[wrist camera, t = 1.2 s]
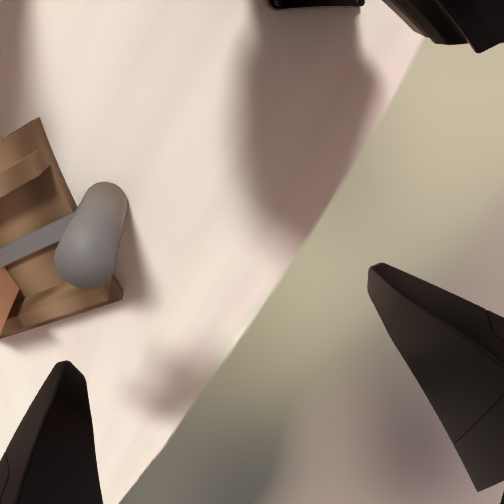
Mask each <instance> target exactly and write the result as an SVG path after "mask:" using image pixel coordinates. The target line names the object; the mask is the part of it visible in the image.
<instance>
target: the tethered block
mask: <svg viewBox="0 0 504 504" xmlns="http://www.w3.org/2000/svg"><path fill="white" fill-rule="evenodd" d="M127 207H128V202H127V198H126V195H125V193H124V192H123V190H122V189H121V188H120V187H118V186H117V185H115V184H113V183H109V182H100V183H97V184H95V185H93V186H91V187H90V188H89V189H88V190H87V192H86V193H85V195H84V197H83V199H82V200H81V202H80V204H79V206H78V208H77V209H76V211H75V212H74V213H72V214H70V215H68V216H65V217H63V218H61V219H59V220H57V221H54V222H52V223H50V224H48V225H46V226H44V227H42V228H40V229H37V230H35V231H33V232H31V233H29V234H27V235H25V236H23V237H21V238H19V239H17V240H15V241H13V242H12V243H10V244H8V245H6V246H4V247H2V248H0V334H1V332H2V329H3V327H4V324H5V321H6V319H7V317H8V314H9V312H10V309H11V307H12V305H13V302H14V300H15V298H16V296H17V293H18V291H19V289H20V288H19V287H18V286H17V284H16V283H15V281H14V280H13V278H12V277H11V275H10V274H9V273H8V271H7V270H6V268H5V266H6V265H8V264H10V263H12V262H14V261H16V260H18V259H20V258H22V257H25V256H27V255H29V254H31V253H33V252H35V251H38V250H40V249H42V248H44V247H46V246H49V245H51V244H53V243H55V242H58V241H60V242H59V244H58V246H57V248H56V251H55V255H54V261H55V266H56V268H57V271H58V272H59V274H60V275H61V277H62V278H63V279H64V280H65V281H67V282H68V283H69V284H71V285H73V286H75V287H78V288H82V289H96V288H99V287H101V286H103V285H105V284H106V283H107V282H108V281H109V280H110V279H111V277H112V275H113V273H114V268H115V263H116V258H117V253H118V248H119V243H120V238H121V234H122V229H123V225H124V220H125V216H126V212H127Z"/></svg>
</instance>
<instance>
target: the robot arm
mask: <svg viewBox="0 0 504 504" xmlns="http://www.w3.org/2000/svg"><path fill="white" fill-rule="evenodd" d="M278 1H280V6H277V5H275V3H274V0H267V2H268V5H269V7H270V8H271V9H273V10H287V9H299V8H316V7H360V6H363V5H364V3H365V0H358V3H357V2H356V1H355V0H278ZM382 1H383V2H384V3H385V4H387V5H388V6H389V7H390V8H391V9H392V10H393V11H394V12H395V13H396V14H397V15H398V16H399V17H400V18H401V19H402V20H403V21H404V22H405V23H406V24H407V25H408V26H409V27H410V28H411V29H412V30H413V31H415V32H417V33H419V34H421V35H423V36H425V37H429V38H430V39H431V40H432V41H433V42H434V43H435V44H445V45H456V44H467V43H469V44H470V45H471V47H472V48H473V49H474V51H475V52H476V53H481V52H483V51H485V50H487V49H489V48H491V47H493V46H495V45H497V44H499V43H503V42H504V0H382ZM367 288H368V293H369V296H370V298H371V300H372V302H373V304H374V306H375V308H376V310H377V312H378V314H379V316H380V317H381V320H382V322H383V323H384V325H385V328H386V329H387V332H388V334H389V335H390V337H391V339H392V341H393V342H394V344H395V346H396V347H397V349H398V350H399V352H400V353H401V355H402V357H403V358H404V360H405V361H406V363H407V365H408V366H409V368H410V369H411V371H412V373H413V374H414V376H415V378H416V379H417V381H418V383H419V384H420V386H421V388H422V390H423V391H424V393H425V395H426V396H427V398H428V400H429V401H430V403H431V405H432V407H433V408H434V410H435V412H436V414H437V415H438V417H439V419H440V421H441V423H442V424H443V426H444V428H445V430H446V432H447V433H448V435H449V437H450V439H451V441H452V443H454V444H453V445H454V447H455V449H456V451H457V452H458V454H459V456H460V458H461V460H462V462H463V464H464V466H465V468H466V470H467V472H468V474H469V476H470V478H471V480H472V482H473V484H474V486H475V488H476V490H477V491H478V492H479V491H482V490H484V489H486V488H489V487H491V486H493V485H495V484H498V483H500V482H502V481H504V318H503V317H501V316H499V315H497V314H495V313H493V312H491V311H488V310H486V309H484V308H482V307H480V306H478V305H476V304H474V303H472V302H469V301H467V300H465V299H463V298H461V297H459V296H457V295H455V294H452V293H450V292H448V291H446V290H443V289H441V288H439V287H437V286H435V285H433V284H430V283H428V282H426V281H424V280H422V279H419V278H417V277H415V276H413V275H410V274H408V273H406V272H404V271H401V270H399V269H397V268H394V267H392V266H390V265H388V264H385V263H378V264H376V265H374V266H371V267H370V268H369V271H368V286H367ZM0 504H103V500H102V494H101V489H100V482H99V476H98V469H97V461H96V453H95V444H94V433H93V424H92V417H91V411H90V405H89V398H88V391H87V383H86V379H85V377H84V375H83V374H82V373H81V372H80V371H79V370H78V369H77V368H76V367H75V366H74V365H73V364H72V363H71V362H70V361H67V360H66V361H62V362H58V363H57V364H56V365H55V366H54V368H53V369H52V371H51V373H50V374H49V376H48V377H47V379H46V380H45V382H44V384H43V385H42V387H41V389H40V390H39V392H38V393H37V395H36V397H35V398H34V400H33V402H32V404H31V405H30V407H29V409H28V410H27V412H26V414H25V416H24V417H23V419H22V421H21V423H20V425H19V426H18V428H17V430H16V432H15V434H14V436H13V437H12V439H11V441H10V443H9V445H8V447H7V449H6V452H5V453H4V455H3V457H2V459H1V461H0ZM500 504H504V493H503V496H502V499H501V503H500Z"/></svg>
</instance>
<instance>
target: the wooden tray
mask: <svg viewBox="0 0 504 504" xmlns="http://www.w3.org/2000/svg"><path fill="white" fill-rule="evenodd" d="M76 209H77V205H76V203H75V201H74V199H73V197H72V195H71V193H70V191H69V189H68V186H67V184H66V182H65V180H64V178H63V175H62V173H61V171H60V168H59V166H58V164H57V161H56V159H55V157H54V154H53V152H52V149H51V147H50V144H49V142H48V139H47V137H46V134H45V131H44V129H43V126H42V123H41V121H40V118H37V119H35V120H33V121H31V122H29V123H28V124H26V125H24V126H23V127H21V128H19V129H18V130H16V131H15V132H13V133H12V134H10V135H8V136H7V137H5V138H4V139H2V140H1V141H0V248H2V247H4V246H6V245H8V244H10V243H12V242H13V241H15V240H17V239H19V238H21V237H23V236H25V235H27V234H29V233H31V232H33V231H35V230H37V229H40V228H42V227H44V226H46V225H48V224H50V223H52V222H54V221H57V220H59V219H61V218H63V217H65V216H68V215H70V214H72V213H74V212H75V211H76ZM59 242H60V241H58V242H55V243H53V244H51V245H49V246H46V247H44V248H42V249H40V250H38V251H35V252H33V253H31V254H29V255H27V256H25V257H22V258H20V259H18V260H16V261H14V262H12V263H10V264H8V265H6V266H5V268H6V270H7V271H8V273H9V274H10V275H11V277H12V278H13V280H14V281H15V283H16V284H17V286H18V287H19V288H20V289H19V291H18V293H17V296H16V298H15V300H14V302H13V305H12V307H11V309H10V312H9V314H8V317H7V319H6V321H5V324H4V327H3V329H2V332H1V334H0V339H1V338H4V337H7V336H10V335H13V334H17V333H20V332H23V331H26V330H29V329H32V328H35V327H39V326H42V325H45V324H48V323H51V322H54V321H57V320H60V319H64V318H67V317H70V316H73V315H76V314H79V313H82V312H85V311H88V310H92V309H95V308H98V307H101V306H104V305H107V304H110V303H113V302H116V301H119V300H122V298H123V290H122V288H121V286H120V285H119V283H118V281H117V280H116V278H115V276H114V274H113V275H112V277H111V279H110V280H109V281H108V282H107V283H106V284H105V285H103V286H101V287H99V288H96V289H82V288H78V287H75V286H73V285H71V284H69V283H68V282H67V281H65V280H64V279H63V278H62V277H61V275H60V274H59V272H58V271H57V268H56V266H55V261H54V255H55V251H56V248H57V246H58V244H59Z"/></svg>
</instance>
